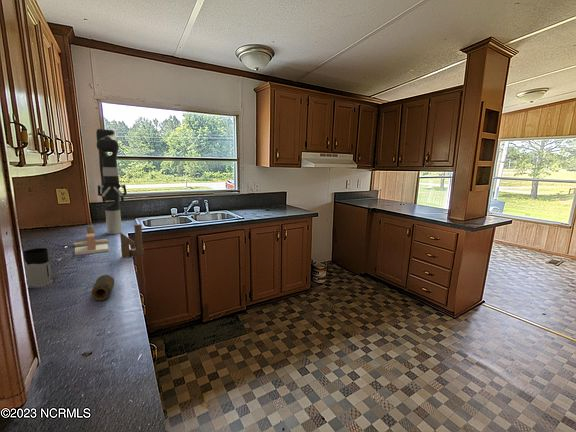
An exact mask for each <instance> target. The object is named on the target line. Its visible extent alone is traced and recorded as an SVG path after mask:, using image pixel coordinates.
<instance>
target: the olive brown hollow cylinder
mask: <svg viewBox="0 0 576 432" xmlns="http://www.w3.org/2000/svg"><path fill="white" fill-rule="evenodd" d="M114 284H115V279H114V277H112V276H111V275H110V274H103V275H100V276H99V277H98V278H96V281H95V283H94V285H93V287H92V291H91V295H92V298H93V299H94V300H96V301H104V300H106V299H107V298H108V297H109V296H110V295H111V294H112V291H113V289H114Z"/></svg>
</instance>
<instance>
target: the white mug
mask: <svg viewBox="0 0 576 432" xmlns="http://www.w3.org/2000/svg"><path fill="white" fill-rule="evenodd" d="M59 253H60V254H61V253H62V254H63V255H64V262H63V264H62V266H61V267H60V268H59V269H58V270H56V271H55V273H53V274H52V270H51V264H50V263H53V262H54V261H55V255H56V254H59ZM22 254H23V263H25V266H24V271H25V270H26V273H25V276H26V275H27V280H26V283H27V282H28V288H29V286H30V285H31V286H42V285H46V284H49V283H51V282H52V281H53V277H54V276H55V275H56V274H57V273H58V272H59V271H61V270H62V269H64V267H65V266H66V262H67V255H66V253H65V252H63V251H56V252H54V254H53V255H52V260H51V261H50V260H49V252H48V248H45V247H38V248H31V249H26V250H24V251H23V253H22ZM53 282H54V281H53ZM28 288H27V289H28Z"/></svg>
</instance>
